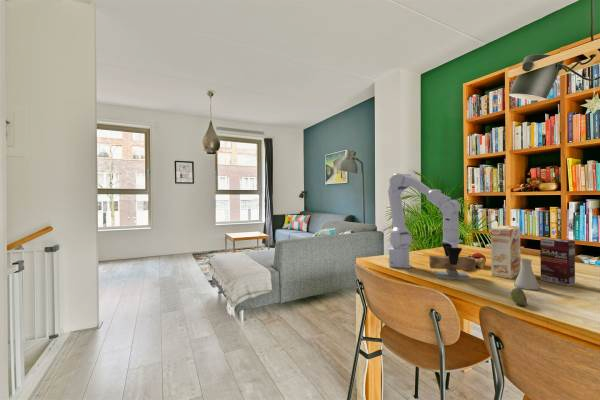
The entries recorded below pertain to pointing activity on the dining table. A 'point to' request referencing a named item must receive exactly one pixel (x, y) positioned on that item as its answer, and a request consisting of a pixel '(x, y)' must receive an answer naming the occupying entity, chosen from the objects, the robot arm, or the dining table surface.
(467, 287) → the dining table surface
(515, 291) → the lime
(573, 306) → the dining table surface
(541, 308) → the dining table surface
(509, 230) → the coffeecake box
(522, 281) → the flask
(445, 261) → the beam
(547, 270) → the supplement box
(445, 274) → the fulcrum
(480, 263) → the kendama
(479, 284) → the dining table surface
